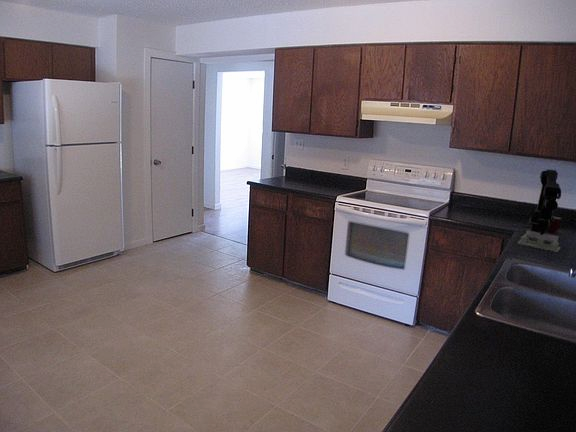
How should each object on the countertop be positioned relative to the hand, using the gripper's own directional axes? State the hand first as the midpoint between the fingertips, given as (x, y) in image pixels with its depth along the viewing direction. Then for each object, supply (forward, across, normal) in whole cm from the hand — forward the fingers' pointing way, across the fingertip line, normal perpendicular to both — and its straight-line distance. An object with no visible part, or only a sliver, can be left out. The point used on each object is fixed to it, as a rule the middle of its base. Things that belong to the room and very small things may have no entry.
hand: (542, 234), depth 262 cm
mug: (+7, -46, -2) cm, 47 cm away
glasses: (+3, +2, 0) cm, 3 cm away
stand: (+7, +2, 0) cm, 7 cm away
